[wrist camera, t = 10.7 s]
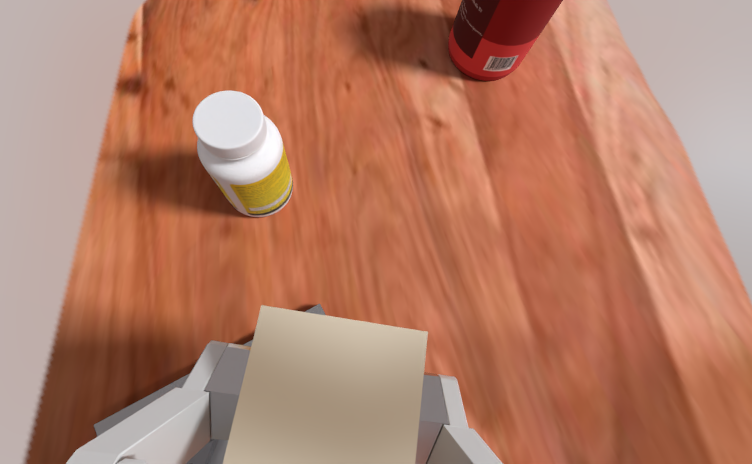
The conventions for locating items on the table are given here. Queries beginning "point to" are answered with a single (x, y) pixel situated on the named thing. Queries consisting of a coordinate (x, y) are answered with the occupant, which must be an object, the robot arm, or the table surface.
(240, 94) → the supplement bottle
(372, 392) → the birch block
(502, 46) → the canned food
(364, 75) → the table surface
